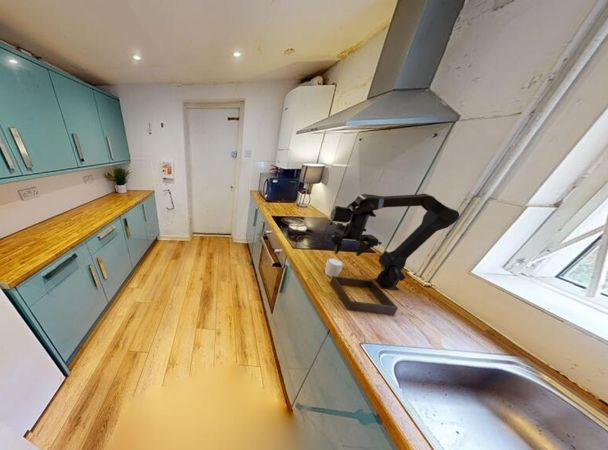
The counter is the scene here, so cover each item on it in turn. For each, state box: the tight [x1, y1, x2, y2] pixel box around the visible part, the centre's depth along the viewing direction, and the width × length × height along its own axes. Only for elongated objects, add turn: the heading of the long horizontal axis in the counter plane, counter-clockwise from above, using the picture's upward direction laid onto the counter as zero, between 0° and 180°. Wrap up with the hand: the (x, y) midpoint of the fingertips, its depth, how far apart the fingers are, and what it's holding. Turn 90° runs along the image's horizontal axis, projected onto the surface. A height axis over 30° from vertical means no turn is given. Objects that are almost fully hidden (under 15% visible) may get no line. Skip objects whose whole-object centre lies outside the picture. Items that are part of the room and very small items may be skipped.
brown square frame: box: [329, 276, 399, 317], centre depth 82 cm, size 17×16×4 cm
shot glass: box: [324, 257, 345, 278], centre depth 95 cm, size 7×7×7 cm
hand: (346, 254), depth 91 cm, fingers open, 9 cm apart
